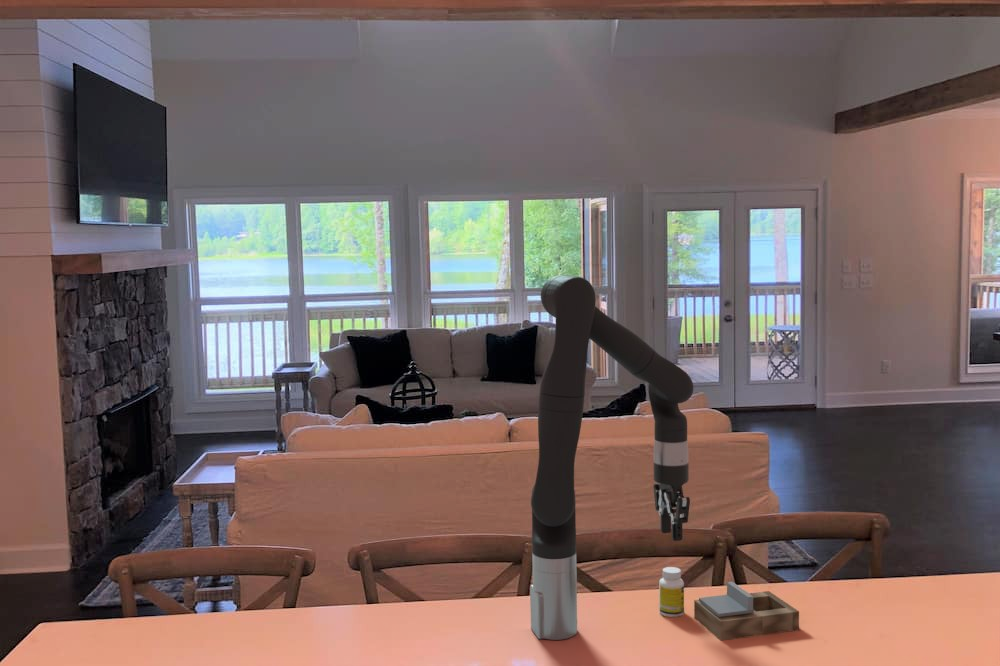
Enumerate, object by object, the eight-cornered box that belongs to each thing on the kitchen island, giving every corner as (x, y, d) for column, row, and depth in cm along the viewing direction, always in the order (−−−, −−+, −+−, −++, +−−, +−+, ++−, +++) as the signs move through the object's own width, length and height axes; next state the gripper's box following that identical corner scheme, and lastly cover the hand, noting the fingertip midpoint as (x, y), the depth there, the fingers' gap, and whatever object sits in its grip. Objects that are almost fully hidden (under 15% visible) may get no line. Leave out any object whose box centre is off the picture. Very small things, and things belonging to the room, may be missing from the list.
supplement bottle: (686, 617, 198) (686, 574, 197) (661, 618, 198) (661, 574, 197) (681, 608, 204) (681, 565, 203) (657, 608, 204) (657, 565, 203)
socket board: (720, 640, 186) (720, 621, 186) (694, 617, 198) (694, 600, 198) (798, 629, 191) (799, 611, 190) (768, 608, 202) (768, 591, 202)
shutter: (718, 617, 187) (718, 600, 187) (699, 601, 196) (699, 585, 196) (753, 612, 189) (754, 596, 189) (732, 597, 198) (732, 581, 198)
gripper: (701, 466, 192) (701, 544, 193) (672, 452, 206) (673, 525, 207) (668, 469, 190) (669, 548, 192) (641, 454, 204) (642, 528, 205)
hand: (671, 535), depth 199 cm, fingers open, 5 cm apart
